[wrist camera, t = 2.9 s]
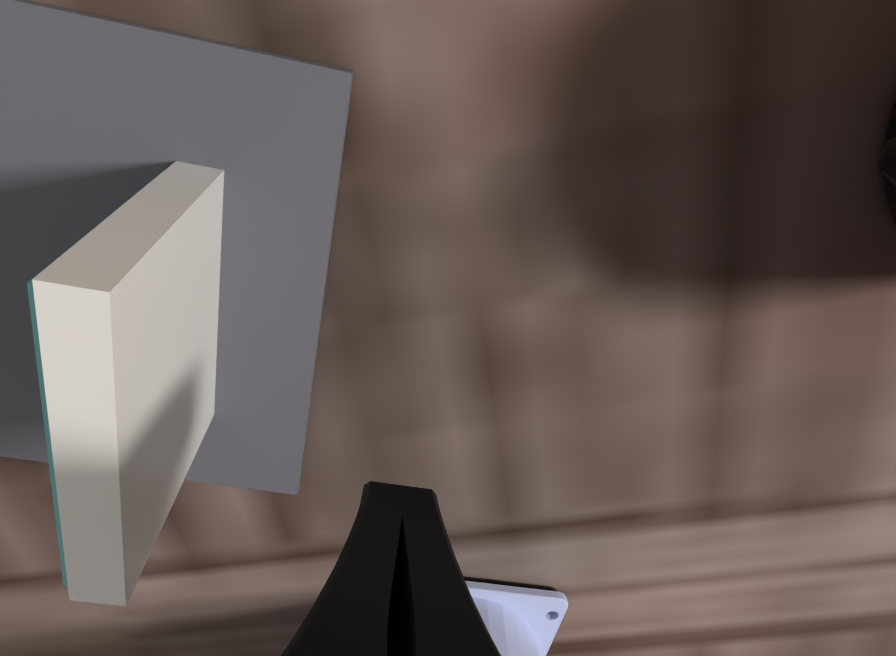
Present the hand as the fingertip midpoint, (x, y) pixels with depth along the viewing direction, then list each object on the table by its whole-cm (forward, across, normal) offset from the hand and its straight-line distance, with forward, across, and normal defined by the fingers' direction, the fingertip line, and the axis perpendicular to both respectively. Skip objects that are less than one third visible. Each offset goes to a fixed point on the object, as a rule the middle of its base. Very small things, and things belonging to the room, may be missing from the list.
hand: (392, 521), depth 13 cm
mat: (+8, +9, 0) cm, 12 cm away
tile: (+7, +6, 0) cm, 10 cm away
